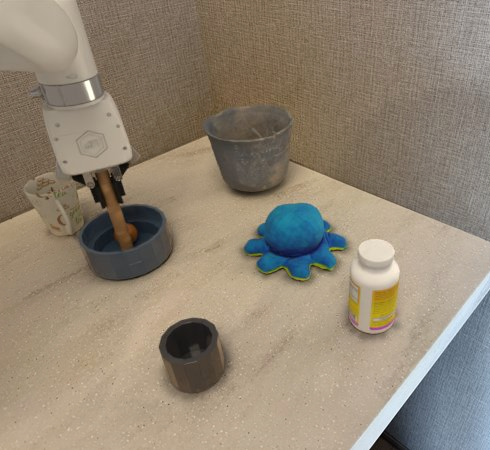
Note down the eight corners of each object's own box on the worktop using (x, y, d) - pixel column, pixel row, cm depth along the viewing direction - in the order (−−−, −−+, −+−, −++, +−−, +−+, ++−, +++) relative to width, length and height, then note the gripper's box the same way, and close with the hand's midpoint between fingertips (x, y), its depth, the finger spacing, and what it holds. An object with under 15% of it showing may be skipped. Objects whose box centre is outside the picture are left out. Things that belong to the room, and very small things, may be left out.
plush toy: (276, 295, 69) (272, 254, 64) (232, 239, 81) (226, 201, 76) (362, 257, 75) (365, 217, 70) (310, 210, 87) (309, 173, 82)
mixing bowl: (95, 293, 71) (83, 265, 67) (85, 245, 81) (74, 218, 77) (182, 263, 76) (175, 236, 72) (162, 222, 86) (155, 196, 82)
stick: (122, 252, 74) (94, 174, 67) (120, 247, 75) (93, 170, 69) (134, 248, 74) (108, 170, 68) (132, 243, 76) (107, 167, 70)
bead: (112, 232, 76) (110, 222, 79) (117, 251, 78) (116, 241, 81) (136, 226, 77) (133, 216, 80) (141, 245, 79) (138, 235, 82)
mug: (82, 209, 91) (65, 166, 85) (104, 237, 83) (87, 192, 77) (39, 226, 86) (18, 182, 81) (58, 257, 78) (36, 210, 73)
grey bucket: (287, 212, 87) (283, 142, 78) (202, 206, 90) (189, 138, 81) (301, 168, 101) (299, 104, 92) (227, 164, 104) (218, 102, 95)
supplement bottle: (400, 311, 65) (410, 243, 58) (384, 342, 61) (392, 273, 53) (359, 295, 68) (363, 228, 61) (340, 324, 64) (341, 256, 56)
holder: (177, 403, 54) (167, 374, 51) (163, 360, 60) (153, 330, 56) (232, 378, 57) (226, 349, 54) (214, 339, 62) (207, 309, 59)
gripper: (8, 111, 55) (60, 229, 66) (137, 86, 61) (166, 199, 72) (8, 93, 61) (57, 205, 71) (127, 72, 66) (155, 179, 77)
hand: (111, 201), depth 71 cm, fingers closed on stick, 2 cm apart
